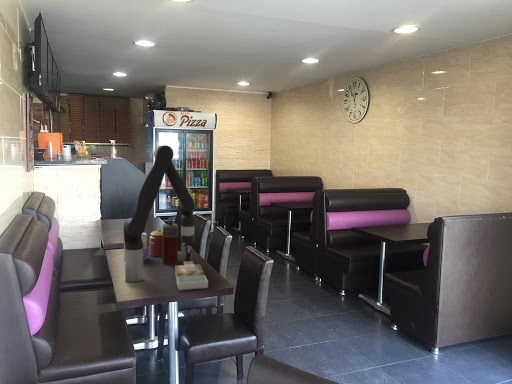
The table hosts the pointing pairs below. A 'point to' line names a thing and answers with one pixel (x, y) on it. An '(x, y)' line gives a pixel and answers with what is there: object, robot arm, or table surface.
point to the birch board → (181, 271)
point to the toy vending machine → (171, 243)
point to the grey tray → (192, 282)
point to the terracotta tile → (188, 263)
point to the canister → (156, 243)
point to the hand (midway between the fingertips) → (187, 263)
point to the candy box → (144, 240)
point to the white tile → (189, 267)
